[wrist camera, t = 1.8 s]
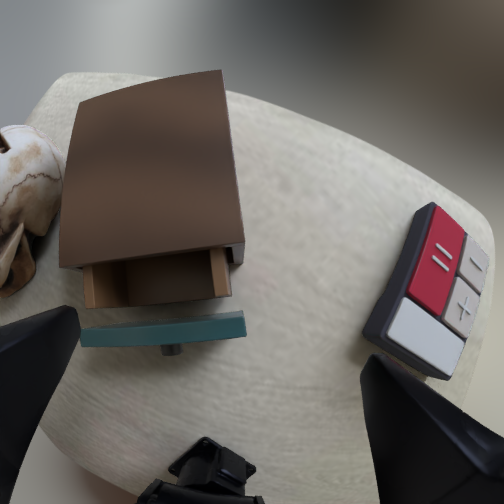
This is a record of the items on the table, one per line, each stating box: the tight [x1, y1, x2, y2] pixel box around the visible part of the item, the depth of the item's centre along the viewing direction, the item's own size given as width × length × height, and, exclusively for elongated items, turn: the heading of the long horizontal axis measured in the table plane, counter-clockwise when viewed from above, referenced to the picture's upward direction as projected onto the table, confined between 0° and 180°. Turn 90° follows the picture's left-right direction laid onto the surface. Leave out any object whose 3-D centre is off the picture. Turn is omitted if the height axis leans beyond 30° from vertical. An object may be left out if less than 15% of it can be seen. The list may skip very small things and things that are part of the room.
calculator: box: [362, 202, 489, 381], centre depth 22 cm, size 11×4×15 cm
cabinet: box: [59, 70, 245, 273], centre depth 20 cm, size 14×12×9 cm
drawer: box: [80, 247, 247, 356], centre depth 19 cm, size 14×11×7 cm
